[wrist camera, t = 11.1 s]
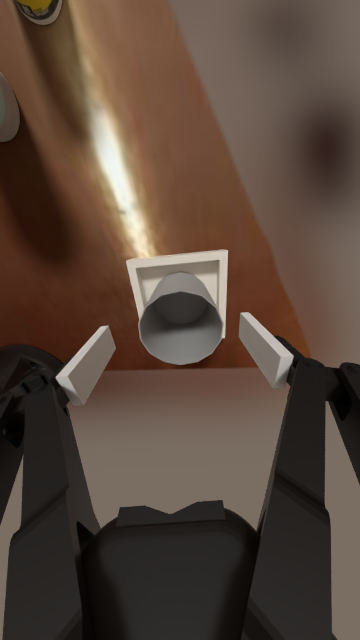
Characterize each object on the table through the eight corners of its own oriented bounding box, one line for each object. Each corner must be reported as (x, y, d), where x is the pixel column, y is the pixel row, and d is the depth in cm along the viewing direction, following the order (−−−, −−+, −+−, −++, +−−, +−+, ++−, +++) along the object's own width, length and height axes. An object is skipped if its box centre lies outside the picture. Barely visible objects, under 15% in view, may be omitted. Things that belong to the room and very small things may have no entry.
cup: (205, 323, 26) (217, 365, 17) (156, 323, 26) (143, 364, 17) (209, 271, 23) (228, 290, 14) (152, 271, 23) (133, 289, 14)
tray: (148, 336, 28) (145, 344, 26) (131, 258, 23) (125, 260, 20) (221, 330, 28) (224, 338, 25) (223, 249, 22) (227, 250, 20)
